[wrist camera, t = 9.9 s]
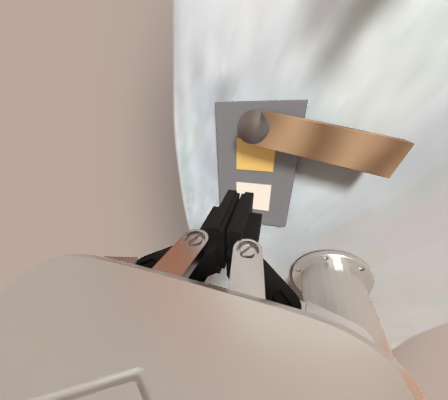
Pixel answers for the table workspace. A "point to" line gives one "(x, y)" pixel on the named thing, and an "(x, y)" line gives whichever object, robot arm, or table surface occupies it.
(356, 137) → the swing bar
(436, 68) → the table surface
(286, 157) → the label board
